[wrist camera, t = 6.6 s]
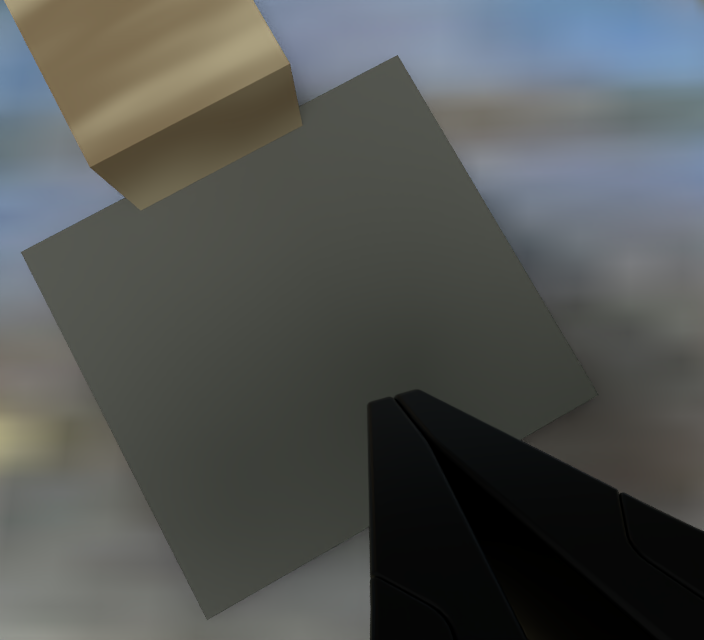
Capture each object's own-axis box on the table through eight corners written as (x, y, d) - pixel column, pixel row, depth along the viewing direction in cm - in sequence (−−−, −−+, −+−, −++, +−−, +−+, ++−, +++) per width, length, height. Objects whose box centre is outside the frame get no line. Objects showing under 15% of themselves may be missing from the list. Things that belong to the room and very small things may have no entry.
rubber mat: (593, 394, 18) (598, 394, 18) (210, 614, 17) (206, 620, 17) (396, 62, 19) (397, 55, 19) (28, 254, 19) (21, 252, 18)
